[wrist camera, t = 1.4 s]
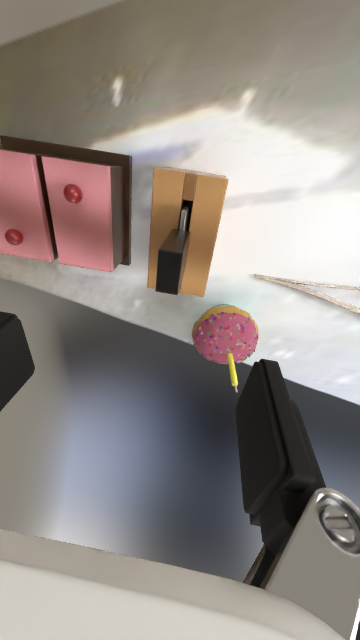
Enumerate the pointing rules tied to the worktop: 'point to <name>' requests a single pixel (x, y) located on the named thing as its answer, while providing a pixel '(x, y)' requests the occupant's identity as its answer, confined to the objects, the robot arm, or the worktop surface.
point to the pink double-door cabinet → (65, 204)
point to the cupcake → (226, 336)
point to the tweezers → (307, 290)
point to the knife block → (206, 212)
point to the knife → (174, 255)
